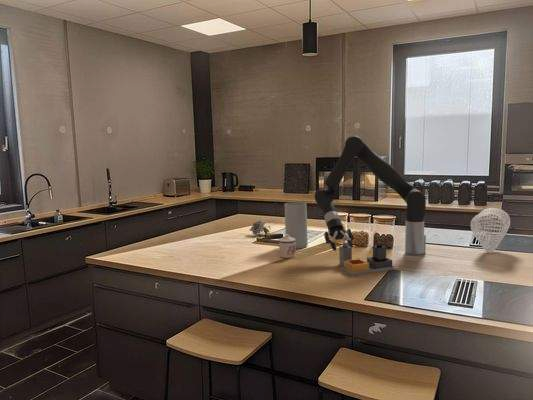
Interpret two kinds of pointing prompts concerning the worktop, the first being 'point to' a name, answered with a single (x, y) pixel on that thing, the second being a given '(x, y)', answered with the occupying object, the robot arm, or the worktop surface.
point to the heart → (499, 238)
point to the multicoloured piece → (369, 262)
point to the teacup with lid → (287, 247)
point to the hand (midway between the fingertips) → (343, 249)
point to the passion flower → (259, 228)
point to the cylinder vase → (296, 223)
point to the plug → (345, 253)
